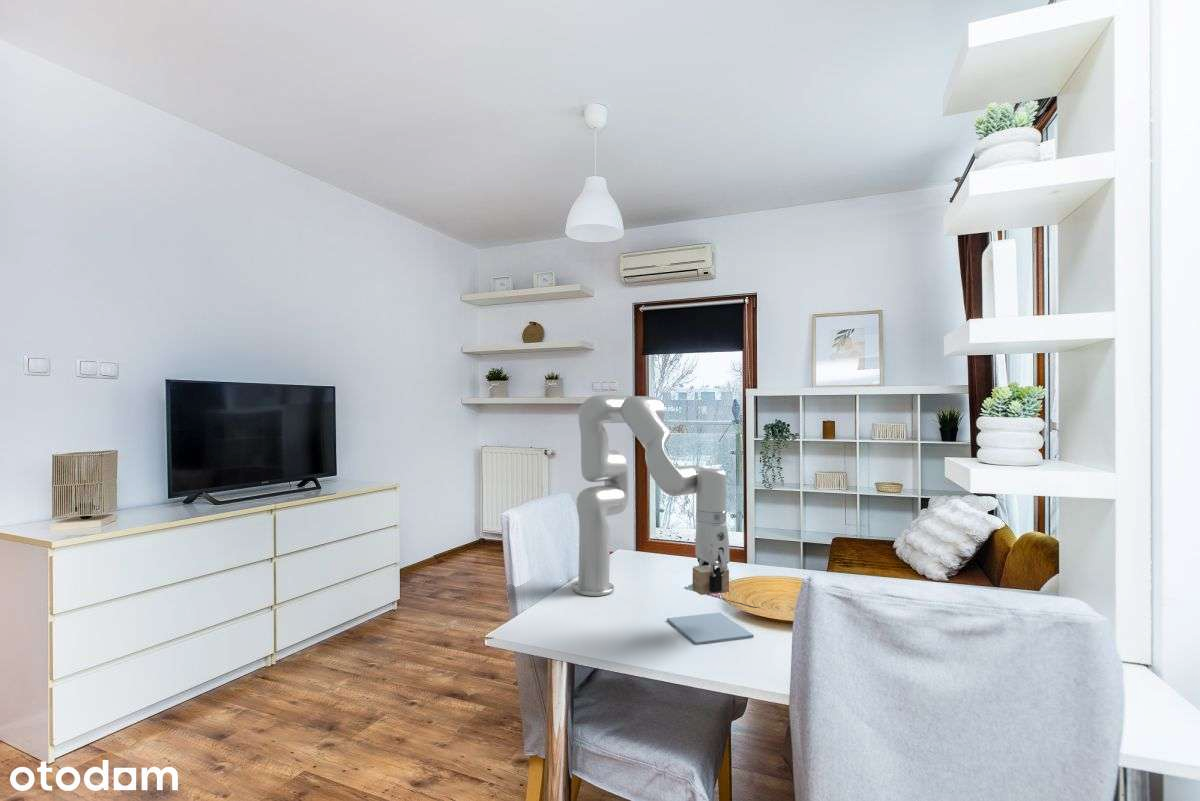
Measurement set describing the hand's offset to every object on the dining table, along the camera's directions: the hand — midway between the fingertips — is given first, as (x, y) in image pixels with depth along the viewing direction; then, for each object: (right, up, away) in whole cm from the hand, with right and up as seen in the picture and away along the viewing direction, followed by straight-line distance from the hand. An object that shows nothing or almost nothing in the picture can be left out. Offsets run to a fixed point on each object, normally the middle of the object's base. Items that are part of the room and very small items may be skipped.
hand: (710, 587), depth 148 cm
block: (0, -1, 0) cm, 1 cm away
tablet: (+13, -12, +31) cm, 36 cm away
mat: (0, -11, 0) cm, 11 cm away
